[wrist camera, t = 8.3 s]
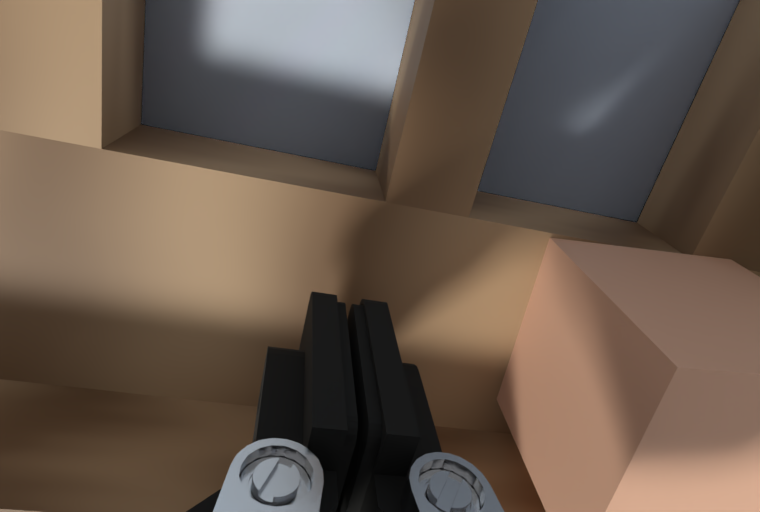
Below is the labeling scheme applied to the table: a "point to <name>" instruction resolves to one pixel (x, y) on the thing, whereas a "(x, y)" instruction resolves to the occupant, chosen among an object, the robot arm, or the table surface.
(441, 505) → the robot arm
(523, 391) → the block
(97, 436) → the trap box
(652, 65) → the table surface
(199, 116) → the table surface
